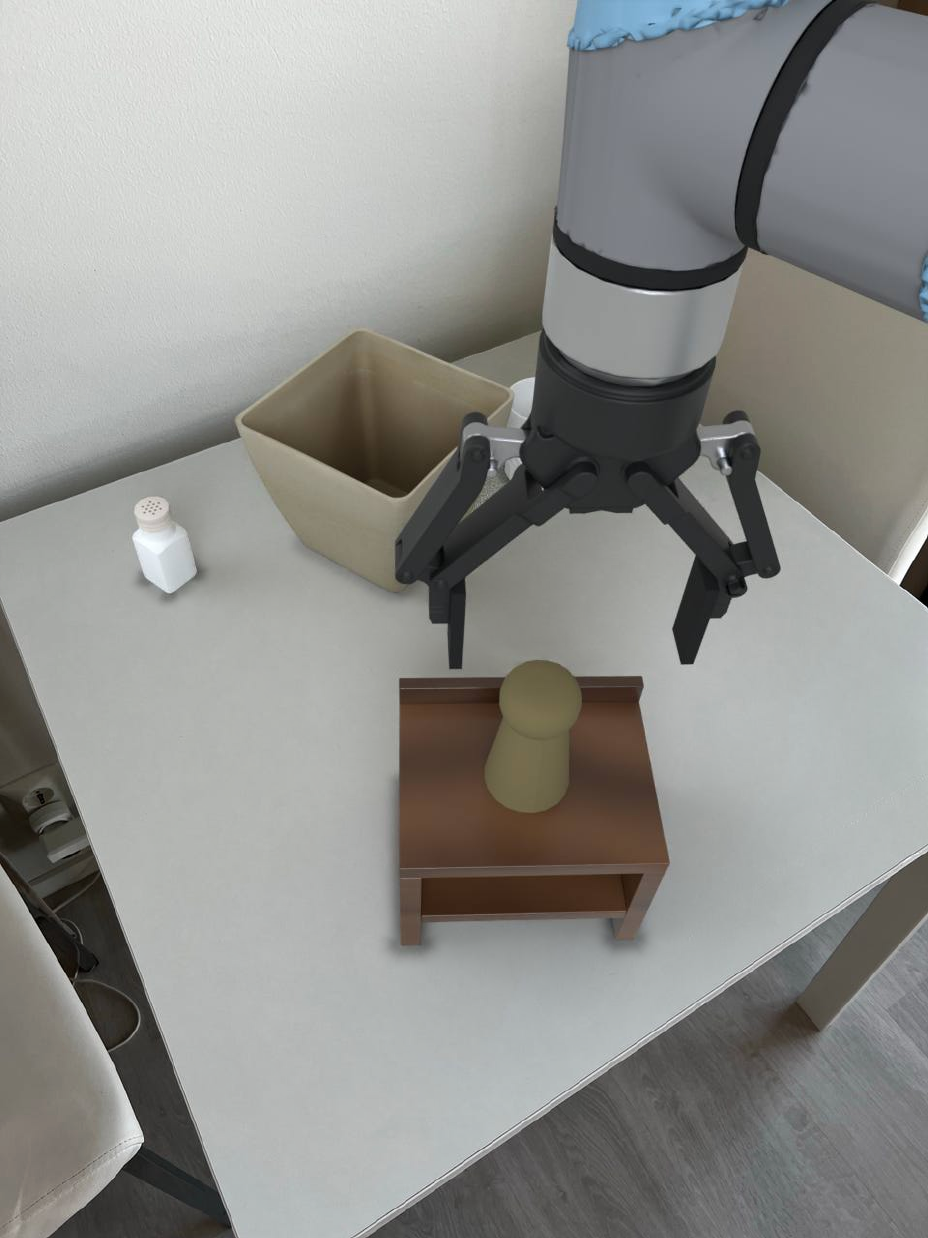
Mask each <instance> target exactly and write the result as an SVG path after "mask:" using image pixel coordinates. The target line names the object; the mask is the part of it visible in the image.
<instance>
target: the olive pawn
mask: <svg viewBox="0 0 928 1238" xmlns="http://www.w3.org/2000/svg"><path fill="white" fill-rule="evenodd" d="M505 677H506V678H505V679H504V681H503V684H502V686H501V688H500V698H499V706H500V709H501V712H502V715H503V719H502V721H501V724H500V727H499V729H498V732H497V735H496V737H495V740H494V743H493V745H492V748H491V751H490V753H489V756H488V759H487V761H486V764H485V772H484V778H485V782H486V785H487V788H488V790H489V791H490V793H491V794H492V795H493V797H494V798H495V799H496V800H497V801H498V802H500V803H501V804H502V805H504V806H505V807H507V808H509V809H512V810H515V811H518V812H524V813H536V812H540V811H545V810H548V809H549V808H551V807H553V806H554V805H556V804H558V802H559V801H560V800H561V799H562V798H563V796H564V795H565V794H566V791H567V788H568V785H569V729H570V728H571V727H572V726H573V724H574V723H575V722H576V721H577V719H578V716H579V713H580V710H581V707H582V695H581V689H580V687H579V685H578V682H577V680H576V679H575V678H574V677H575V676H574V674H572V672H570V670H568V669H567V668H566V667H565V666H563V665H561V664H560V663H559V662H555V661H551V660H548V659H533V660H528V661H525V662H522V663H521V664H519V665H517V666H514V667H513V668H512V669H511V671H510V672H509V673H507V674H506V676H505Z"/></svg>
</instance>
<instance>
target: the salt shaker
mask: <svg viewBox="0 0 928 1238" xmlns="http://www.w3.org/2000/svg"><path fill="white" fill-rule="evenodd" d="M133 513H134V517H135V521H136V523H137V526H138V529H137V530H135V532H133V535H132V537H131V539H132V542H133V544H134V548H135V552H136V554H137V557H138V560H139V563H140V567H141V570H142V573H143V576H144V578H145V579H147V580H148V581H149V582H151V583H152V584H153V585H155V586H156V587H158V588H159V589H160V590H162V591H164V592H165V593H167V594H172V593H174V592H175V591H177V590H178V589H180V588H181V587H182V586H184V585H185V584H186V583H187V582H189V581H190V580H192V579H193V578H194V577H195V576H196V575H197V572H198V570H197V569H198V568H197V566H196V562H195V561H196V560H195V558H194V554H193V550H192V546H191V542H190V539H189V535H188V532H187V530H186V529H185V528H184V527H183V526H181V525H180V524H179V523H178V522H176V521H174V516H173V512H172V509H171V505H170V503H169V502H168V501H167V499H166V498H163V497H161V496H147V497H145V498H142V499H140V500H139V501H138V502H137V503H136V504H135V506H134V511H133Z"/></svg>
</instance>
